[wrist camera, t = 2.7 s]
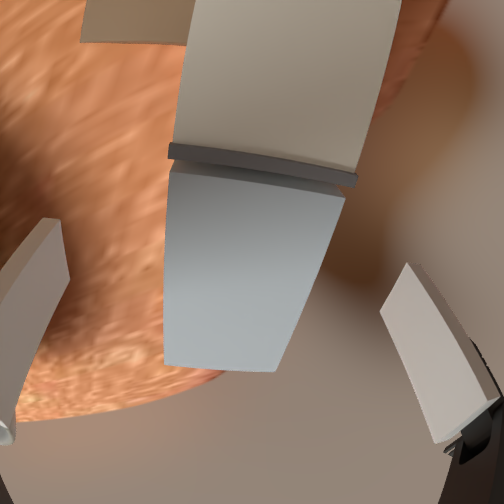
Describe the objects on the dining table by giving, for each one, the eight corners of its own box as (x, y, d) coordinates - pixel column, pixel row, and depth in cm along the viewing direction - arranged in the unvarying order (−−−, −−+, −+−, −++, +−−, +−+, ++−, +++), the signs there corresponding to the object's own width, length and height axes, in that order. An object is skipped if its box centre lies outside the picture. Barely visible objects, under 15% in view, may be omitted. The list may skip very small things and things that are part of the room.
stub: (188, 206, 20) (164, 364, 10) (203, 97, 16) (169, 171, 6) (250, 214, 21) (275, 372, 11) (274, 108, 17) (345, 198, 7)
